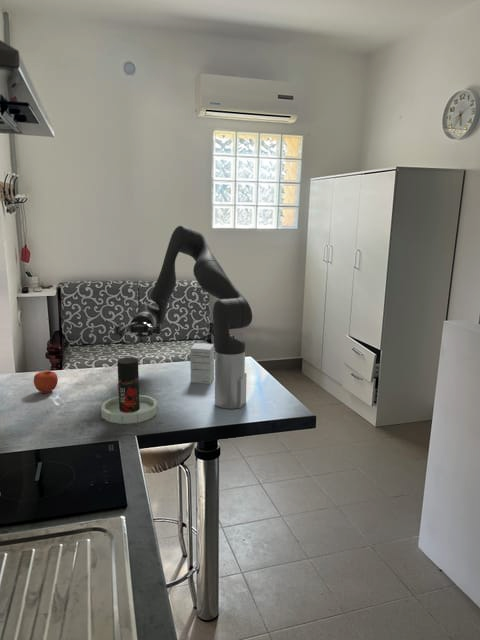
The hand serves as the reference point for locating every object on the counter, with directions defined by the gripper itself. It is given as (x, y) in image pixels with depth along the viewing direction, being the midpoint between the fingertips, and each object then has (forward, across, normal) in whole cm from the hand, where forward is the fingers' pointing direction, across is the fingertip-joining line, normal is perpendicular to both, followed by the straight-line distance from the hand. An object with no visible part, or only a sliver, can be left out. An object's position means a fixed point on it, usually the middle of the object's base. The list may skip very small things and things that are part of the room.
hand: (134, 333), depth 150 cm
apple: (-6, -31, +21) cm, 38 cm away
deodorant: (+10, -1, +21) cm, 23 cm away
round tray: (+10, 0, +22) cm, 24 cm away
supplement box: (-19, +20, +21) cm, 35 cm away
